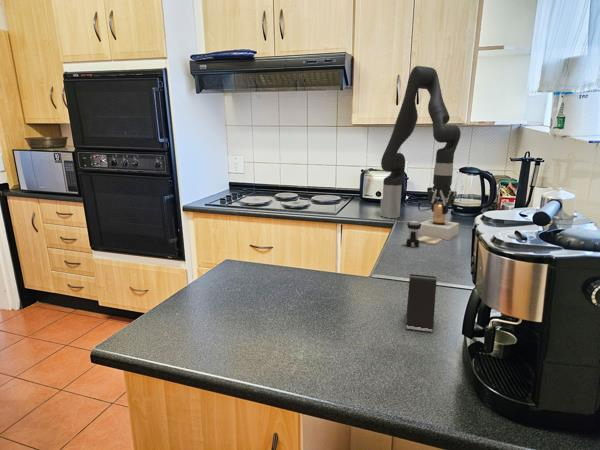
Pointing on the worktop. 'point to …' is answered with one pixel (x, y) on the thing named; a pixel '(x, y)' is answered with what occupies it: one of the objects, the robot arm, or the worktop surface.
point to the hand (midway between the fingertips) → (439, 212)
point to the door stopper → (421, 301)
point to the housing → (438, 229)
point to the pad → (429, 240)
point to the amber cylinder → (438, 214)
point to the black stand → (413, 234)
